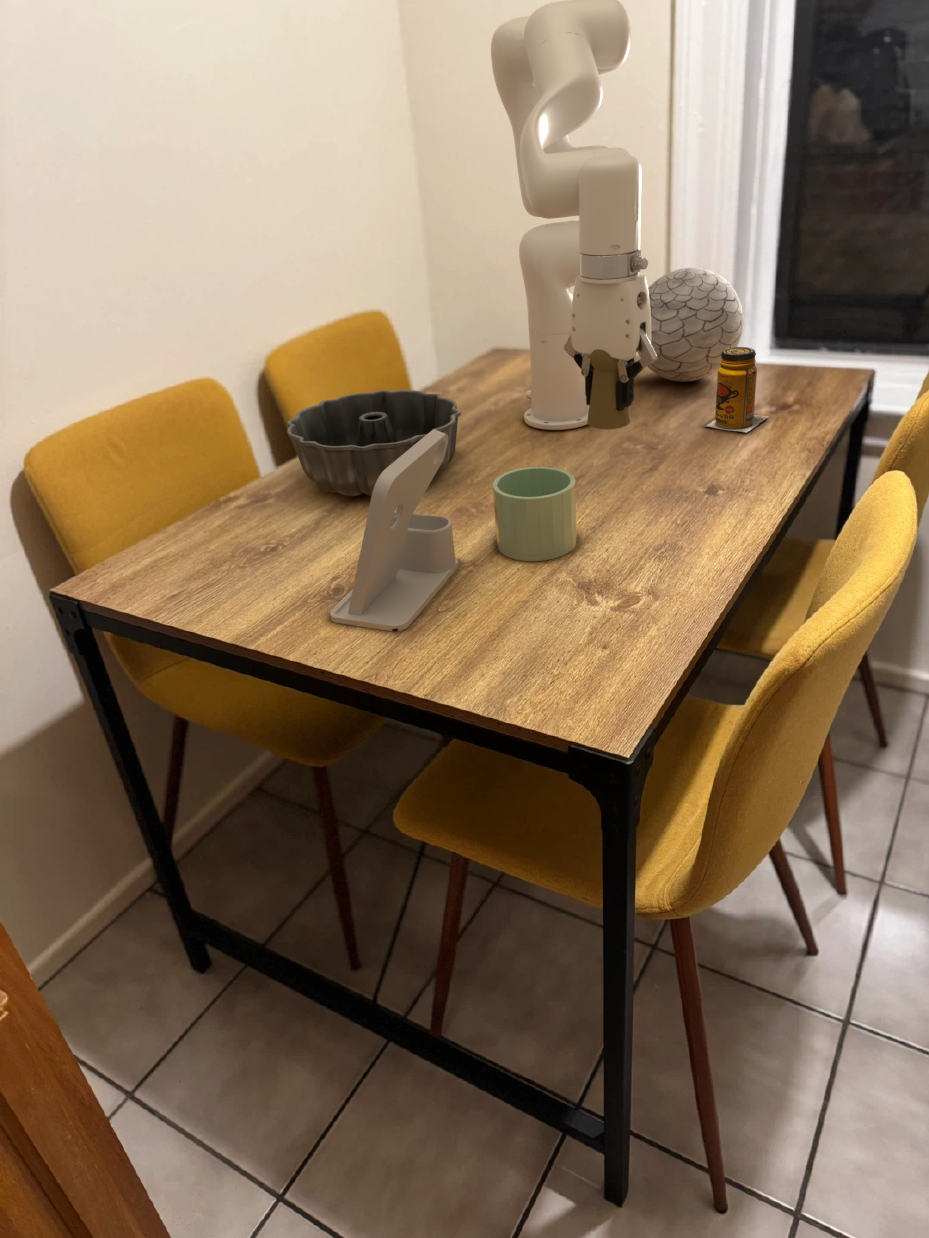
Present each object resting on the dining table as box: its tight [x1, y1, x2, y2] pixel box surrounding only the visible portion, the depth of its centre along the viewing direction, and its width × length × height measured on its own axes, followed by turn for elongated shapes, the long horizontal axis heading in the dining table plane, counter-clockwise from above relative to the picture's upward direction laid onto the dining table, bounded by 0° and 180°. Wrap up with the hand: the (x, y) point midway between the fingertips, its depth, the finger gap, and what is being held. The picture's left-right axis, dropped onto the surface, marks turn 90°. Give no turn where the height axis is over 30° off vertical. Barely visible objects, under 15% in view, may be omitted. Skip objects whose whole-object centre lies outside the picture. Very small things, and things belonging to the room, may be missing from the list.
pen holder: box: [492, 466, 577, 562], centre depth 113 cm, size 10×10×8 cm
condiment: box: [705, 346, 770, 433], centre depth 143 cm, size 7×8×12 cm
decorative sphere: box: [637, 267, 744, 383], centre depth 164 cm, size 20×20×20 cm
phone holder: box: [329, 429, 459, 632], centre depth 103 cm, size 17×10×18 cm, turn 157°
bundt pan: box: [286, 389, 462, 498], centre depth 137 cm, size 26×26×10 cm
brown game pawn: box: [587, 349, 632, 430], centre depth 121 cm, size 6×6×11 cm
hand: (609, 403), depth 122 cm, fingers closed on brown game pawn, 4 cm apart
